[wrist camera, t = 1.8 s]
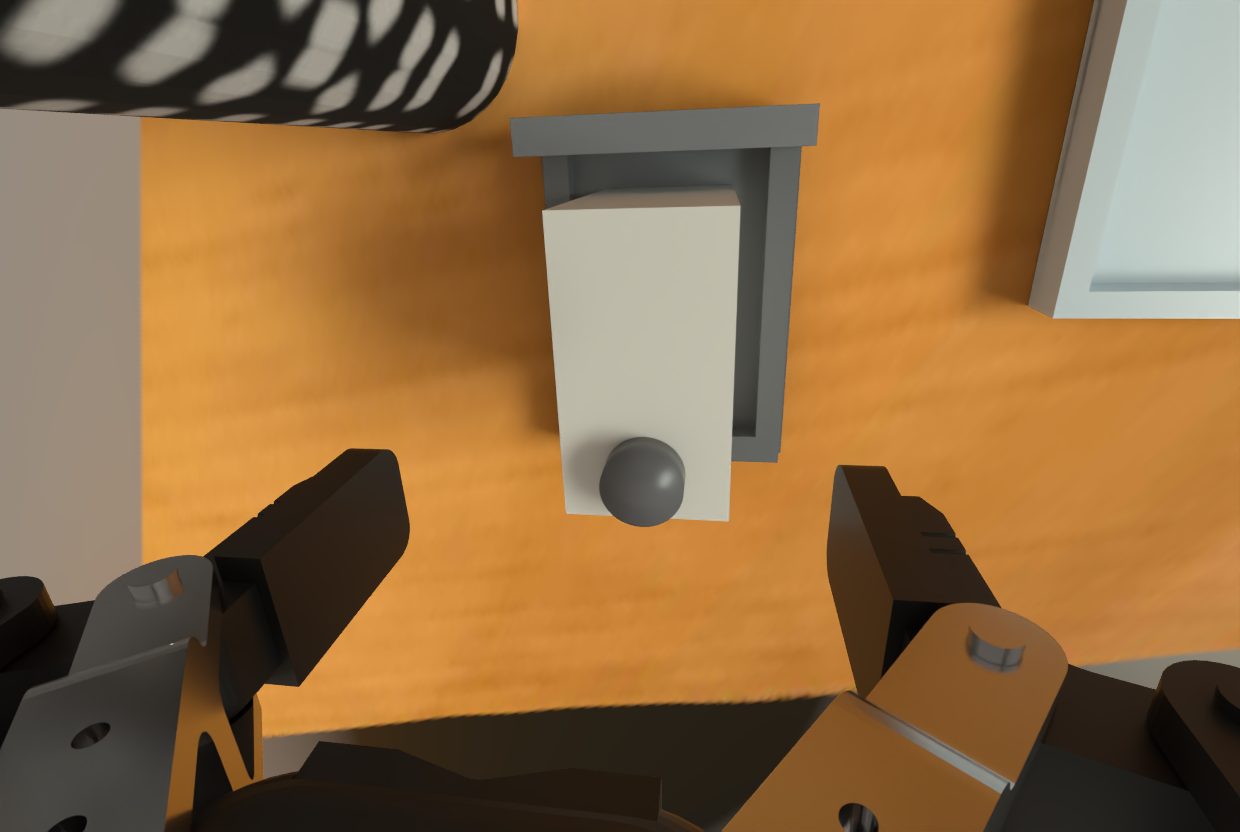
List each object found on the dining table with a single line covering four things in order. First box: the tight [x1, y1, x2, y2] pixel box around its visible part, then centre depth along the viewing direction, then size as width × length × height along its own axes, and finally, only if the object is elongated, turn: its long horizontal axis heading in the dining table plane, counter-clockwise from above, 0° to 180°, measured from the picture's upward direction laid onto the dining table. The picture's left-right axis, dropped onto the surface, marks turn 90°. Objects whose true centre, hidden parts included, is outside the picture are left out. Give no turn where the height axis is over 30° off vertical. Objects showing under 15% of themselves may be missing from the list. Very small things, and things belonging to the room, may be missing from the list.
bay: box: [510, 103, 820, 463], centre depth 25 cm, size 14×10×5 cm
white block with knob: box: [542, 185, 741, 527], centre depth 22 cm, size 9×5×11 cm, turn 2°
